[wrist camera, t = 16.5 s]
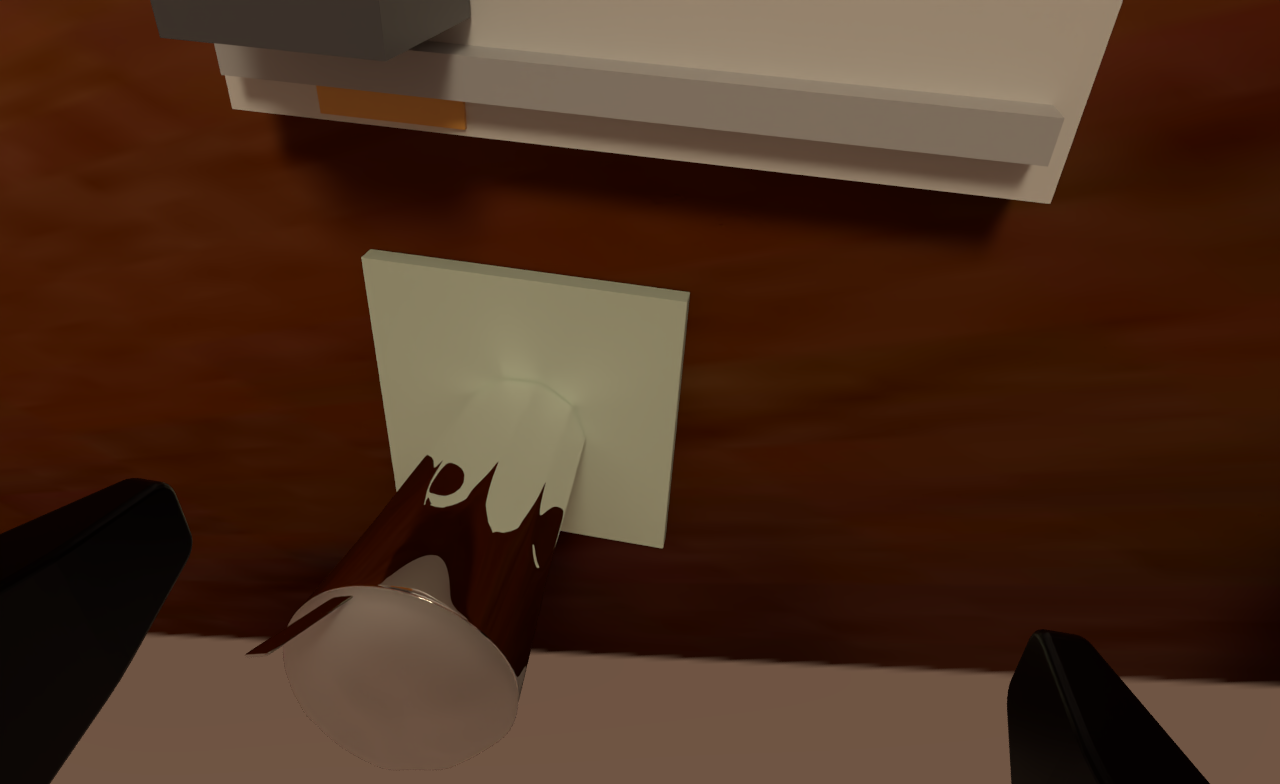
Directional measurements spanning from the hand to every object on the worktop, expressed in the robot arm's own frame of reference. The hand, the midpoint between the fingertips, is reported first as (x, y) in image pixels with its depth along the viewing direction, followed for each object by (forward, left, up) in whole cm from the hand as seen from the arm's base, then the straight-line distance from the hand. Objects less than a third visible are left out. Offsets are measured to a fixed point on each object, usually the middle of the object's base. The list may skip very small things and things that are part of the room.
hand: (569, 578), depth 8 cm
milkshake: (+4, +7, -11) cm, 14 cm away
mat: (+4, +7, -12) cm, 14 cm away
